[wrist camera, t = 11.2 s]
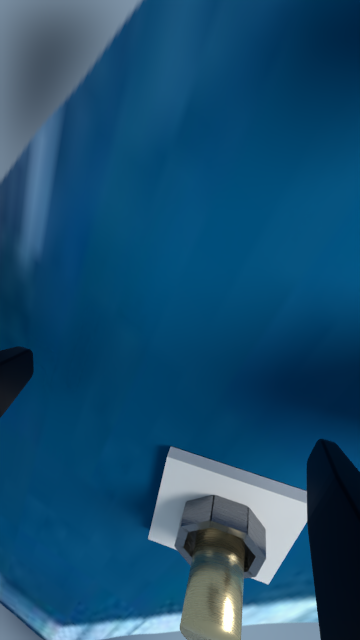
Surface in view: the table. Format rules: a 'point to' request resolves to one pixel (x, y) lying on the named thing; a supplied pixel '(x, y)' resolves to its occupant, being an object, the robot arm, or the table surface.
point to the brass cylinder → (214, 587)
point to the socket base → (234, 484)
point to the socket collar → (223, 528)
